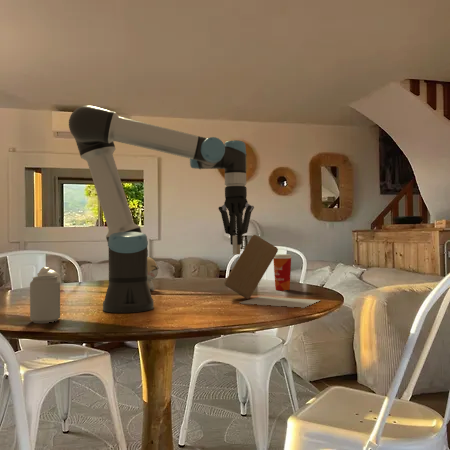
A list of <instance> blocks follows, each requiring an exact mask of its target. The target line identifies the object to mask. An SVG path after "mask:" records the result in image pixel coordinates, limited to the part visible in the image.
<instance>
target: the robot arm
mask: <svg viewBox="0 0 450 450" xmlns="http://www.w3.org/2000/svg"><path fill="white" fill-rule="evenodd" d="M68 129H69V131H70V134H71V135H72V136H73V138H74V140H75V144H76V146H77V150H78V153H79V156H80V158H81V159H83V160H84V161H86V162H87V165H88V167H89V168H88V169H89V172H90V174H91V178H92V180H93V181H92V182H93V184H94V188H95V191H96V194H97V197H98V199H99V200H98V201H99V204H100V207H101V210H102V213H103V216H104V219H105V223H106V226H107V229H108V232H107V234H106V236H105V239H106V242H107V247H108V285H107V289H106V291H105V295H104V300H103V301H102V302H103V303H102V311H103V312H105V313H106V312H107V313H114V314H115V313H117V314H126V313H129V314H130V313H140V312H142V313H143V312H149V311H151V310H153V309H154V304H155V303H154V299H153V296H152V293H151V290H150V289H149V286H148V277H147V276H148V271H147V257H149V249H148V245H149V241H148V236H147V234H146V233H144V232H143V231H142V229H141V227H140V225H138V224H136V223H135V222H134V219H133V215H132V212H131V209H130V206H129V203H128V199H127V197H126V194H125V189H124V187H123V184H122V183H123V182H122V180H121V178H120V174H119V170H118V167H117V164H116V161H115V157H114V153H115V151H116V145H115V143H114V142H118V143H121V144H125V145H130V146H134V147H140V148H142V149H143V148H144V149H147V150H150V151H157V152H159V153H160V152H161V153H164V154H170V155H174V156H177V157H181V158H187V159H189V167H190V168H192V169H194V170H195V169H198V170H209V169H210V170H217V169H218V170H219V169H220V170H222V169H223V170H224V185H225V187H224V198H225V199H224V202H223V205H221V206H218V208H217V210H218V211H219V212H220V215H221V219H222V223H223V228H224V233H225V234H227V235H229V236H230V245H232V255H233V256H234V255H237V256H238V255H241V245H242V244H243V235H245V234H248V231H249V225H250V221H251V215H252V212H253V210H254V209H255V207H254V205H251V204H250V203H248V200H247V198H248V197H247V196H248V195H247V190H248V189H247V151H246V150H247V149H246V148H247V147H246V146H247V145H246V143H245V142H244V141H242V140H238V139H237V140H235V139H233V140H227V141H225V142H223V141H222V139H220V138H219V137H216V136H211V137H204V136H199V135H196V134H191V133H188V132H187V133H186V132H183V131H179V130H175V129H171V128H166V127H162V126H159V125H155V124H151V123H147V122H143V121H138V120H135V119H130V118H127V117H123V116H120V115H118V113H117V112H116V111H112V110H108V109H105V108H101V107H98V106H93V105H82V106H80V107H77V108H75V110H74V111H73V112H71V114H70V115H69V120H68ZM244 210H245V211H244ZM227 211H228V212H227Z"/></svg>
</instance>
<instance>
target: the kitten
mask: <svg viewBox="0 0 450 450" xmlns="http://www.w3.org/2000/svg"><path fill="white" fill-rule="evenodd" d="M159 269H160V268H159V266H158V265H157V262H156V260H155V259H153V258H152V257H150V256H148V257H147V271H148V276H147V277H148V286H149V289H150V292H154V291H155V289H156V288H155V284H154V282H153V280H154V279H155V278H156V277H157V276H158V273H159Z"/></svg>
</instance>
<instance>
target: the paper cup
mask: <svg viewBox="0 0 450 450" xmlns="http://www.w3.org/2000/svg"><path fill="white" fill-rule="evenodd" d="M292 258H293V257H292V254H289V253H288V254H287V253H286V254H284V253H283V254H282V253H281V254H278V253H276V255H275V257H274V258H273V260H272V262H273V273H274V285H275V286H274V287H275V288H274V289H275V290H276V291H280V292H281V291H282V292H283V291H284V290H288V291H290V290H291V274H292V273H291V269H292V268H291V267H292Z"/></svg>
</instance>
